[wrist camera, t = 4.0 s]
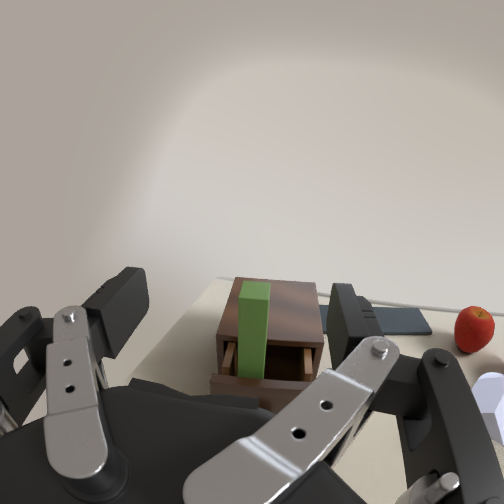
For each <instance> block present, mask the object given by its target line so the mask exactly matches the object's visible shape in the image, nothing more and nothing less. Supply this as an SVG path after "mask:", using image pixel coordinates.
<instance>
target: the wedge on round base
mask: <svg viewBox="0 0 504 504" xmlns="http://www.w3.org/2000/svg"><path fill="white" fill-rule="evenodd" d="M471 391H472V393H473V395H474V398H475V400H476V402H477V405H478V407H479V410H480V412H481V414H482V417H483V420H484V422H485V425H486V427H487V430H488V433H489V435H490V438H491V439H493V440H494V441H496V442H497V443H499V444H500V445H502V446H503V447H504V375H503V374H500V373H496V372H489V373H485V374H483V375H482V376H480V378H479V379H478V380H477V382H476V383H475V385H474V387H473V388H472V390H471Z"/></svg>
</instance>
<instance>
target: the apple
mask: <svg viewBox="0 0 504 504" xmlns="http://www.w3.org/2000/svg"><path fill="white" fill-rule="evenodd" d="M494 328H495V323H494V320H493V318H492V316H491V315H490V314H489V313H488V312H487V311H486V310H484V309H482V308H481V307H476V306H470V307H468V308H465V309H463V310H462V311H461V312H460V313H459V315H458V317H457V320H456V323H455V330H454V335H455V342H456V344H457V346H458V347H459V348H460V349H461V350H462V351H464V352H468V353H474V352H477V351H479V350H480V349H482V348H483V347H484V346H486V345H487V344H488V343H489V342H490V340H491V339H492V337H493V335H494Z"/></svg>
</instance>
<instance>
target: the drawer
mask: <svg viewBox="0 0 504 504" xmlns="http://www.w3.org/2000/svg"><path fill="white" fill-rule="evenodd" d="M312 374H313V372H312V357H311V347H294V346H278V345H266V355H265V367H264V379H256V378H246V377H238V342H233V341H229V342H228V346H227V350H226V353H225V357H224V361H223V364H222V375H219V374H212V376H211V379H210V390H211V395H223V394H227V395H235V396H245V397H255V398H259V404H258V407H259V408H262V409H265V410H268V411H270V412H272V413H274V414H276V415H277V414H278V413H279V412H280V411H281V410H283V409H284V408H285V407H286V406H287V405H288V404H289V403H290V402H292V401H293V400H294V399H295V398H296V397H297V396H298V395H299V394H300V393H301V392H302V391H304V390H305V389H306V388H307V387H308V386H309V385H310V384H311V383H312V382H311V378H312Z"/></svg>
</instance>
